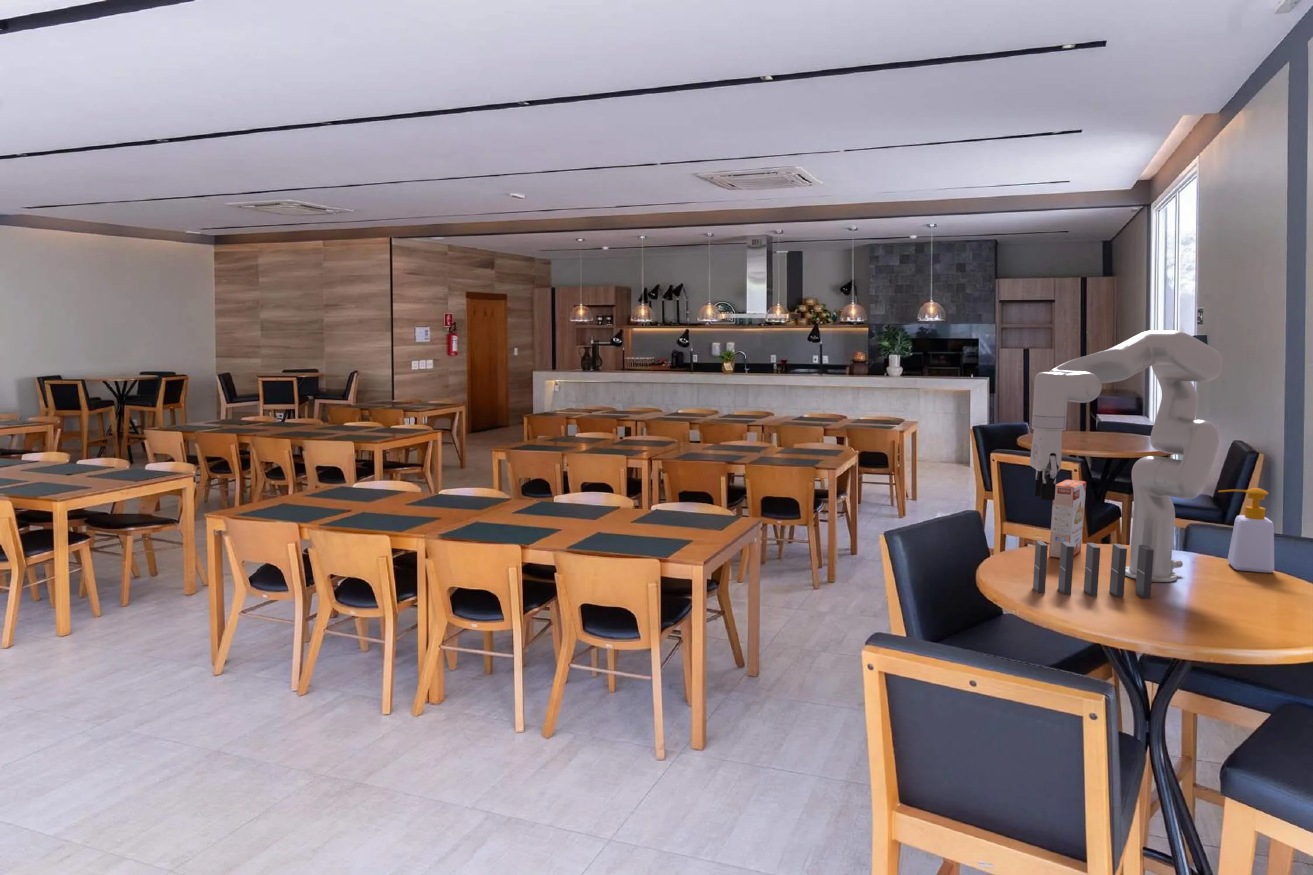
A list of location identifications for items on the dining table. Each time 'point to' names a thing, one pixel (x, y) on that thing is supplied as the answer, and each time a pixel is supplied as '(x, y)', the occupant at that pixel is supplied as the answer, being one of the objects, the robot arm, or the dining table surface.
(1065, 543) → the domino
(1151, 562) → the domino
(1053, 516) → the cracker box
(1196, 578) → the dining table surface
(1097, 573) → the domino
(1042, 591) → the domino
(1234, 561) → the soap bottle
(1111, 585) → the domino
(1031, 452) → the robot arm
